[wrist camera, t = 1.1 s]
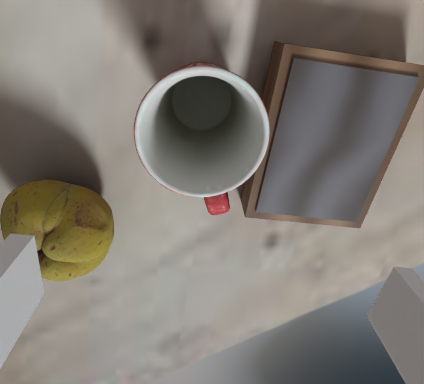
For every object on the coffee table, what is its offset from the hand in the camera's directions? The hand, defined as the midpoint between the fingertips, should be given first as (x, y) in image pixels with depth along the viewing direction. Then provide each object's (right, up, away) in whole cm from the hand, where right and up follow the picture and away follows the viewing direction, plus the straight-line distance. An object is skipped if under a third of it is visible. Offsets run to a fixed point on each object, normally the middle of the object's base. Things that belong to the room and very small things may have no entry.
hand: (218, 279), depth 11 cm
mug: (-1, +12, +22) cm, 25 cm away
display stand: (+12, +9, +23) cm, 28 cm away
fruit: (-17, +2, +26) cm, 31 cm away
